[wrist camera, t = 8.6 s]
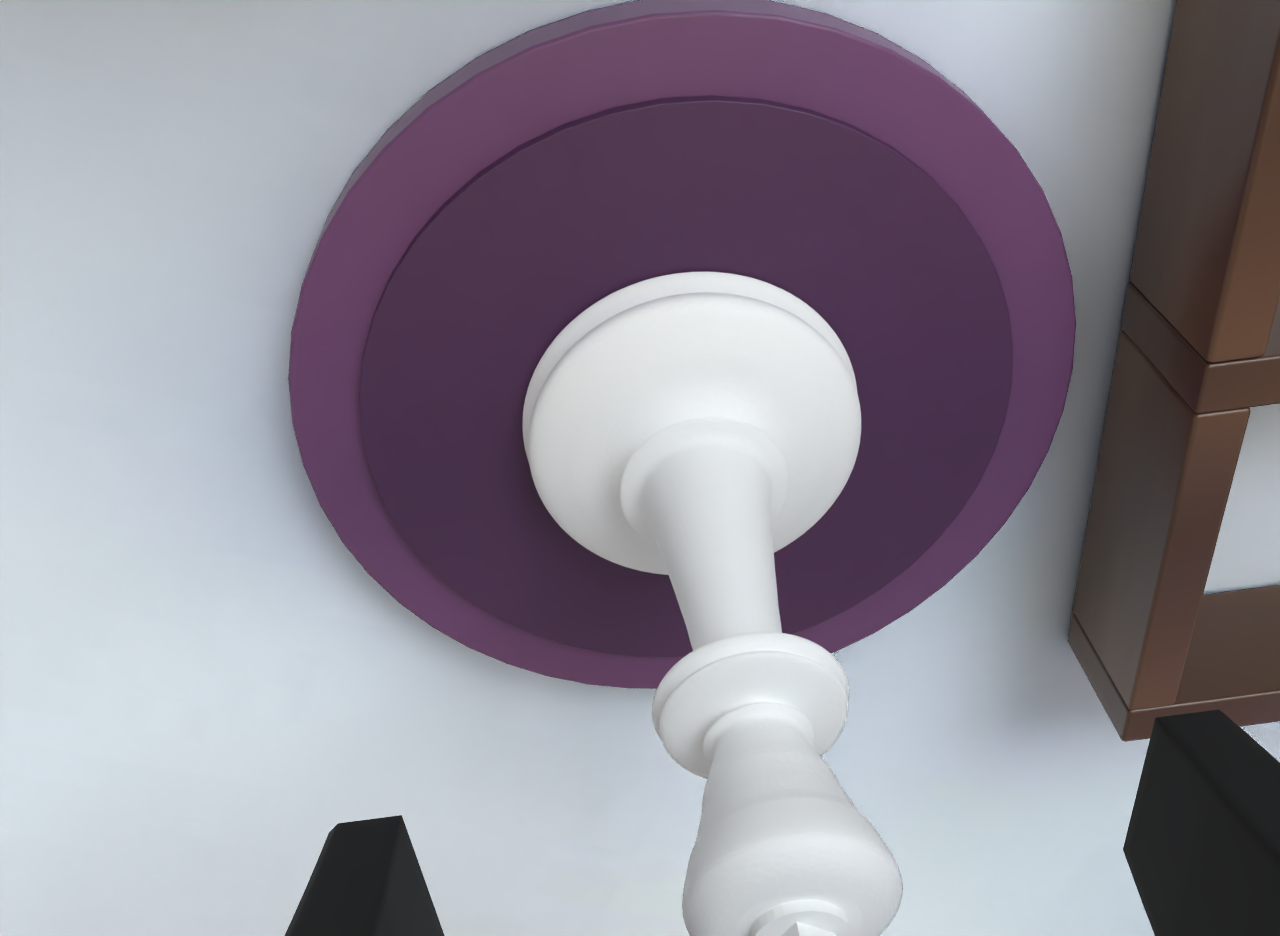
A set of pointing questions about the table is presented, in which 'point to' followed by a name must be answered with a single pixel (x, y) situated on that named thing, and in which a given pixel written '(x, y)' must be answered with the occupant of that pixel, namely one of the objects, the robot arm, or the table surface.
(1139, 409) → the rack
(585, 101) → the lid
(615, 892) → the table surface
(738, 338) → the chess piece
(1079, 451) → the table surface
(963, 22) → the table surface
